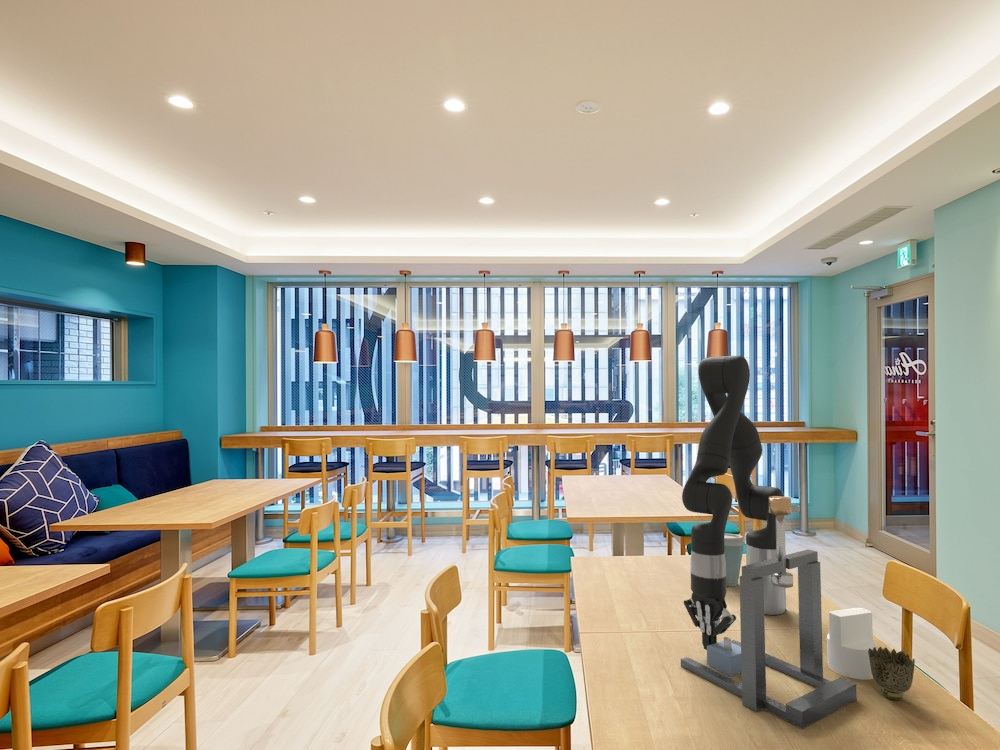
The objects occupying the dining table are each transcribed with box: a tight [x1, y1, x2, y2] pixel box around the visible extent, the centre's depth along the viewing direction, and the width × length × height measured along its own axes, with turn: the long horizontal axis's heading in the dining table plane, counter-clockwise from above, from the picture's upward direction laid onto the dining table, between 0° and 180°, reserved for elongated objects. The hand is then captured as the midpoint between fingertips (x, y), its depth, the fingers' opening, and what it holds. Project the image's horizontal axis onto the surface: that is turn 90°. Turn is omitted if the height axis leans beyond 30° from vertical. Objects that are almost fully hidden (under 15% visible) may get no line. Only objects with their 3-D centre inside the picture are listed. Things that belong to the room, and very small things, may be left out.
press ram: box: [769, 496, 794, 589], centre depth 112 cm, size 4×4×17 cm
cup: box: [868, 646, 915, 701], centre depth 109 cm, size 8×7×8 cm
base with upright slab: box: [826, 606, 877, 681], centre depth 120 cm, size 9×9×12 cm
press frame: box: [680, 549, 858, 730], centre depth 115 cm, size 22×27×26 cm
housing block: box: [706, 636, 742, 677], centre depth 122 cm, size 6×6×6 cm
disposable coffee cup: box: [724, 533, 746, 587], centre depth 175 cm, size 11×11×15 cm
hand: (709, 649), depth 126 cm, fingers closed
